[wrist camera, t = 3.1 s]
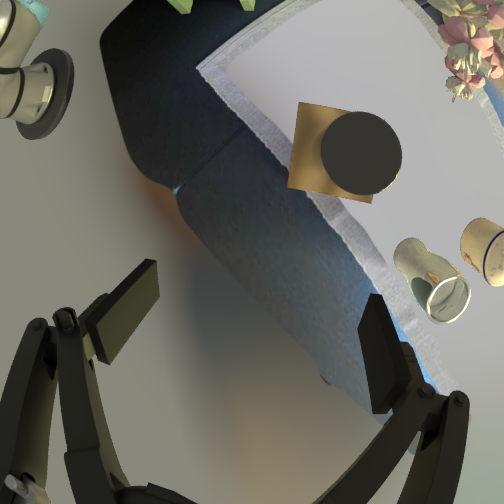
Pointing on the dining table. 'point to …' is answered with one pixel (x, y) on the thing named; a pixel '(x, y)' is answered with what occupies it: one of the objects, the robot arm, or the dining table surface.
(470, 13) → the flower
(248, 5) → the green step stool
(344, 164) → the dark grey cylinder
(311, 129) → the low shelf
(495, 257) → the teacup with lid
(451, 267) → the beer glass
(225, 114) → the dining table surface
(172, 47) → the dining table surface
